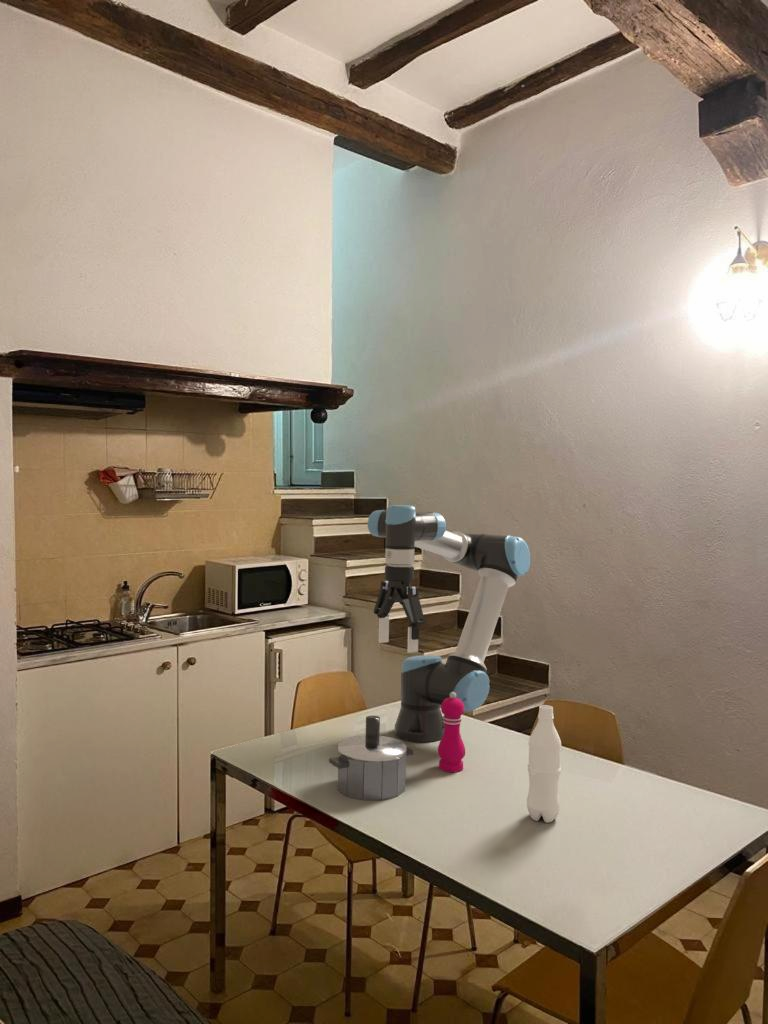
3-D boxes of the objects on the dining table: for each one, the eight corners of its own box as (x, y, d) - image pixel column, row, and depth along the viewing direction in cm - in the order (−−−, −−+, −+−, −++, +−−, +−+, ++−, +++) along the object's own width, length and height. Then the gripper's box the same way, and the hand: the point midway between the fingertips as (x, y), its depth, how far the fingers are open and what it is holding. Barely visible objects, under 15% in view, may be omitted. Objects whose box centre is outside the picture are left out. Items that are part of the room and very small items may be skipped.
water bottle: (550, 827, 172) (554, 713, 171) (520, 818, 176) (524, 707, 175) (564, 817, 177) (568, 706, 177) (535, 808, 182) (538, 700, 181)
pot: (389, 768, 205) (390, 734, 205) (425, 790, 191) (426, 753, 191) (317, 783, 194) (318, 747, 193) (350, 807, 180) (351, 768, 180)
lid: (382, 741, 204) (383, 704, 203) (419, 761, 190) (420, 721, 189) (325, 751, 195) (326, 713, 194) (360, 773, 181) (361, 732, 180)
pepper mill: (464, 764, 210) (466, 689, 209) (464, 773, 203) (467, 696, 202) (437, 762, 211) (439, 687, 210) (436, 772, 203) (438, 695, 203)
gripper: (362, 561, 212) (360, 639, 213) (415, 570, 191) (413, 658, 192) (385, 560, 216) (383, 637, 217) (440, 569, 195) (438, 654, 196)
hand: (397, 647), depth 205 cm, fingers open, 13 cm apart
